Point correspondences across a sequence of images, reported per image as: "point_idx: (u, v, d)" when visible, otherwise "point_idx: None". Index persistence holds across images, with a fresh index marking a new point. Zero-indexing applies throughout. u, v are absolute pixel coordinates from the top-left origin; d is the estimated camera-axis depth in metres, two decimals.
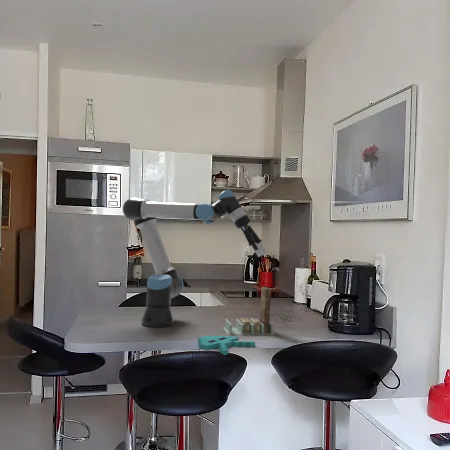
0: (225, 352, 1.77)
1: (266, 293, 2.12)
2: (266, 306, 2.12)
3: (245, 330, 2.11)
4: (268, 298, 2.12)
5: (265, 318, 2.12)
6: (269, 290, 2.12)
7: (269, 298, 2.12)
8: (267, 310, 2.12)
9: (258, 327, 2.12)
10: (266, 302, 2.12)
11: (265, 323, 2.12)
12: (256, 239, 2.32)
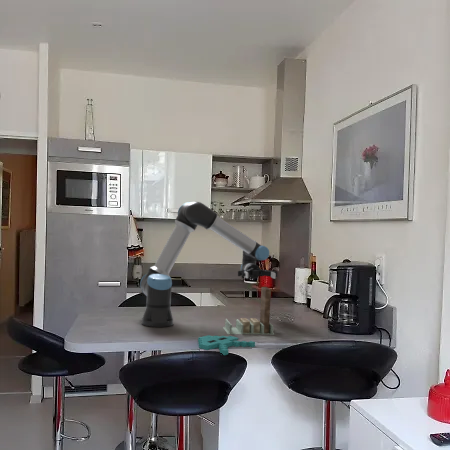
0: (225, 353, 1.77)
1: (266, 293, 2.12)
2: (266, 306, 2.12)
3: (245, 330, 2.11)
4: (268, 298, 2.12)
5: (265, 318, 2.12)
6: (269, 290, 2.12)
7: (269, 298, 2.12)
8: (267, 310, 2.12)
9: (258, 327, 2.12)
10: (266, 302, 2.12)
11: (265, 323, 2.12)
12: None
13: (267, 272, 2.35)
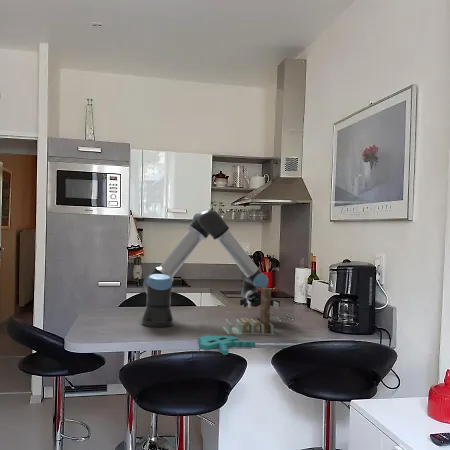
0: (225, 353, 1.77)
1: (266, 293, 2.12)
2: (266, 306, 2.12)
3: (245, 330, 2.11)
4: (268, 298, 2.12)
5: (265, 318, 2.12)
6: (269, 290, 2.12)
7: (269, 298, 2.12)
8: (267, 310, 2.12)
9: (258, 327, 2.12)
10: (266, 302, 2.12)
11: (265, 323, 2.12)
12: None
13: None
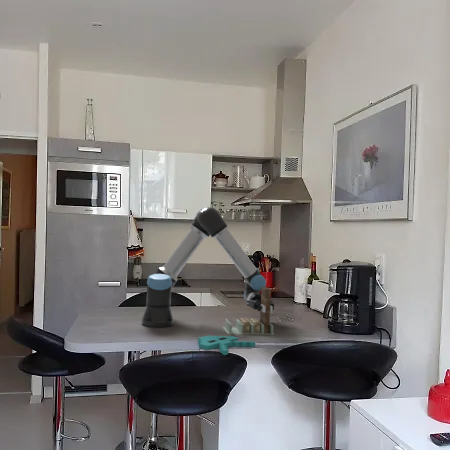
0: (225, 353, 1.77)
1: (266, 293, 2.12)
2: (266, 306, 2.12)
3: (245, 330, 2.11)
4: (268, 298, 2.12)
5: (265, 318, 2.12)
6: (269, 290, 2.12)
7: (269, 298, 2.12)
8: (267, 310, 2.12)
9: (258, 327, 2.12)
10: (266, 302, 2.12)
11: (265, 323, 2.12)
12: None
13: None
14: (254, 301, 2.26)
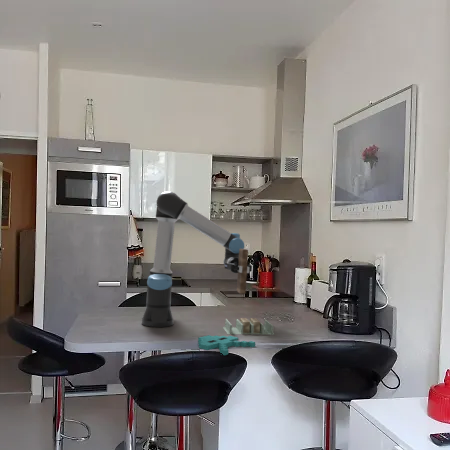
0: (225, 353, 1.77)
1: (243, 253, 2.10)
2: (243, 266, 2.10)
3: (245, 330, 2.11)
4: (245, 259, 2.10)
5: (242, 278, 2.10)
6: (246, 250, 2.10)
7: (246, 258, 2.10)
8: (244, 270, 2.10)
9: (258, 327, 2.12)
10: (243, 262, 2.10)
11: (242, 284, 2.10)
12: None
13: None
14: (232, 264, 2.24)
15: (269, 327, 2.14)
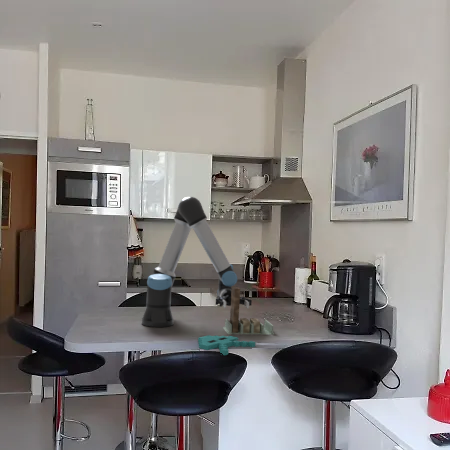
0: (225, 353, 1.77)
1: (235, 292, 2.10)
2: (235, 305, 2.10)
3: (245, 330, 2.11)
4: (237, 298, 2.10)
5: (234, 317, 2.10)
6: (238, 289, 2.10)
7: (238, 297, 2.10)
8: (236, 309, 2.10)
9: (258, 327, 2.12)
10: (235, 301, 2.10)
11: (234, 322, 2.10)
12: None
13: (241, 300, 2.20)
14: (224, 297, 2.23)
15: (269, 327, 2.14)
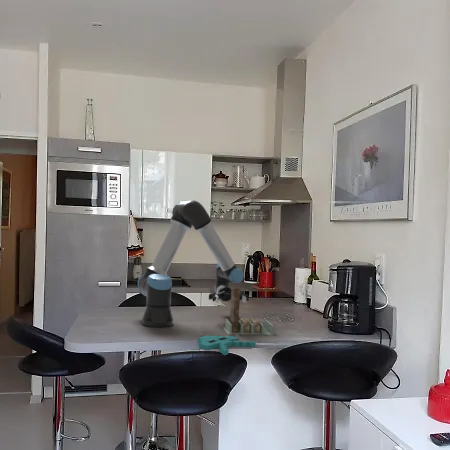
0: (225, 353, 1.77)
1: (235, 292, 2.10)
2: (235, 305, 2.10)
3: (245, 330, 2.11)
4: (237, 298, 2.10)
5: (234, 317, 2.10)
6: (238, 289, 2.10)
7: (238, 297, 2.10)
8: (236, 309, 2.10)
9: (258, 327, 2.12)
10: (235, 301, 2.10)
11: (234, 322, 2.10)
12: None
13: None
14: (219, 293, 2.36)
15: (269, 327, 2.14)
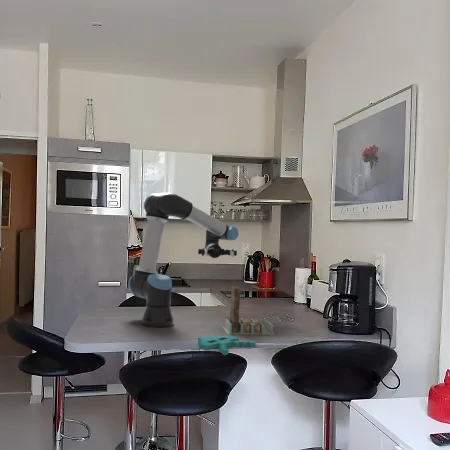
0: (225, 353, 1.77)
1: (235, 292, 2.10)
2: (235, 305, 2.10)
3: (245, 330, 2.11)
4: (237, 298, 2.10)
5: (234, 317, 2.10)
6: (238, 289, 2.10)
7: (238, 297, 2.10)
8: (236, 309, 2.10)
9: (258, 327, 2.12)
10: (235, 301, 2.10)
11: (234, 322, 2.10)
12: (206, 252, 2.41)
13: (227, 251, 2.43)
14: None
15: (269, 327, 2.14)
